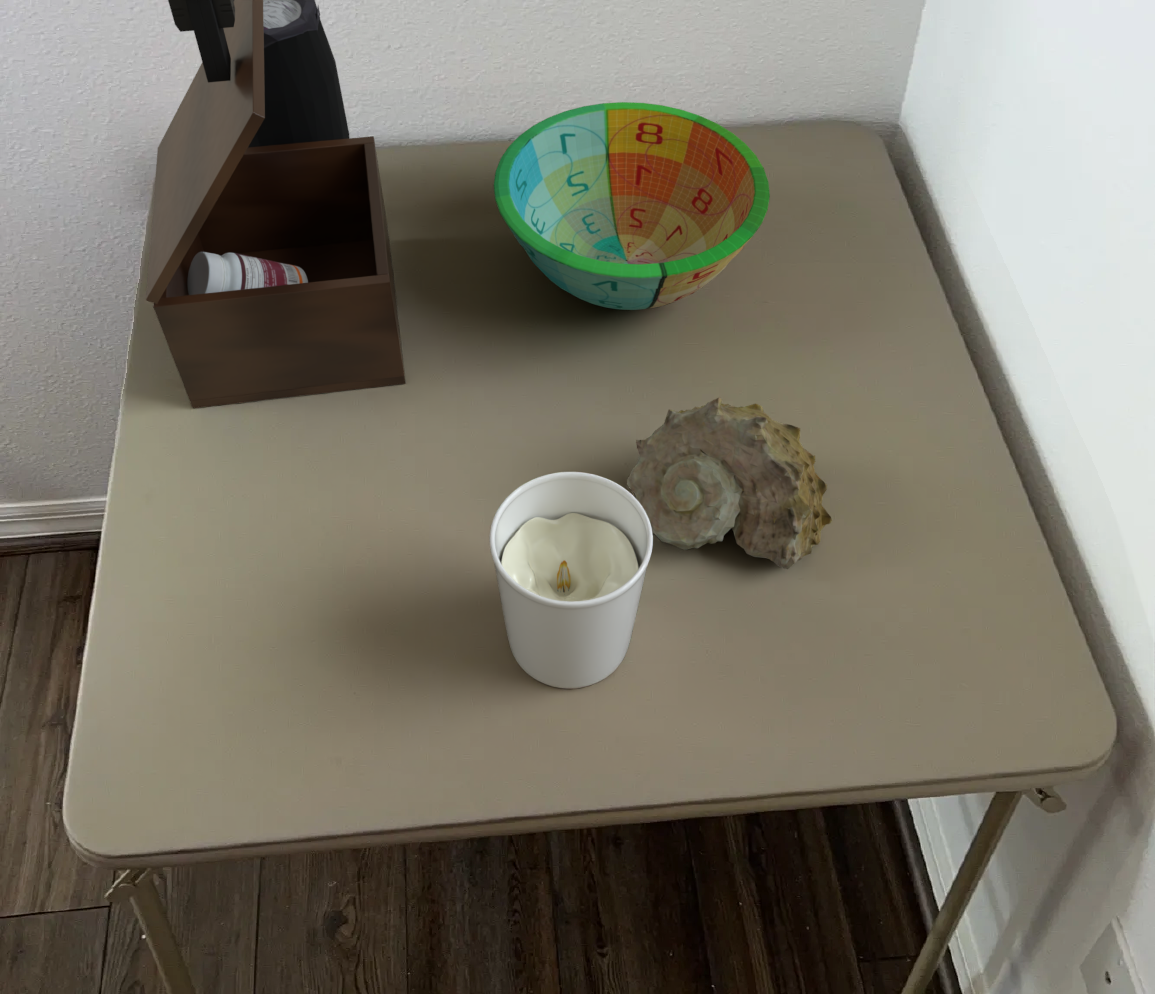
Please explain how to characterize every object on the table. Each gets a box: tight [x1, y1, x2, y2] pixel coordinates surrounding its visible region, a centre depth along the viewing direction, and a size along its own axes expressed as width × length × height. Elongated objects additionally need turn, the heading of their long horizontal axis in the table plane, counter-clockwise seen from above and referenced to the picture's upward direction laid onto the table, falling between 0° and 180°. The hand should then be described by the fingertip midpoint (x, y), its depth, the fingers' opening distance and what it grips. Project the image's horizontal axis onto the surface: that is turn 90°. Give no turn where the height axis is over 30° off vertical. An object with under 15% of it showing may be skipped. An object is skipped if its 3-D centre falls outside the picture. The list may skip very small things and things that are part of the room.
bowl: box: [493, 101, 771, 311], centre depth 95 cm, size 22×22×10 cm
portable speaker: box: [233, 0, 350, 148], centre depth 97 cm, size 9×9×20 cm
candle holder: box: [488, 471, 654, 689], centre depth 72 cm, size 10×10×12 cm
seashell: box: [626, 397, 833, 570], centre depth 80 cm, size 11×14×10 cm
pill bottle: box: [187, 252, 308, 295], centre depth 90 cm, size 5×5×8 cm
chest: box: [152, 135, 407, 409], centre depth 91 cm, size 17×18×11 cm
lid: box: [145, 0, 265, 304], centre depth 80 cm, size 18×18×1 cm
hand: (219, 70), depth 77 cm, fingers closed
